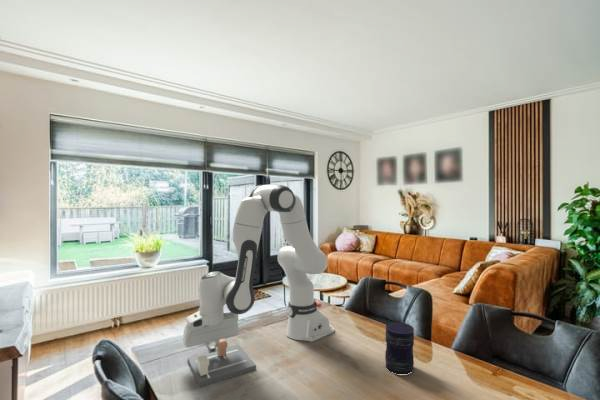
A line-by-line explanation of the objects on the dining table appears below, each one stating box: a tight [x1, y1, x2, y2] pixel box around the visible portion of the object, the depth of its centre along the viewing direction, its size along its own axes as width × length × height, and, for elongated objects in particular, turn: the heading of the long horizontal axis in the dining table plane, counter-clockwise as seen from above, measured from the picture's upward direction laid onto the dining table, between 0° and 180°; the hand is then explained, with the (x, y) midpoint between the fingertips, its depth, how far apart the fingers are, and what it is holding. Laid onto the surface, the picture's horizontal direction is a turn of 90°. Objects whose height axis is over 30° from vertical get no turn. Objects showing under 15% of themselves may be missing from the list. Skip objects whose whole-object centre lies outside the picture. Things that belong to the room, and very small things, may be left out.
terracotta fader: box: [216, 338, 228, 356], centre depth 120 cm, size 3×4×5 cm
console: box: [187, 344, 257, 388], centre depth 115 cm, size 20×18×2 cm
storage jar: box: [384, 321, 415, 375], centre depth 114 cm, size 10×10×15 cm
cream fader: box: [197, 355, 209, 376], centre depth 108 cm, size 3×4×5 cm
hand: (212, 351), depth 118 cm, fingers closed
